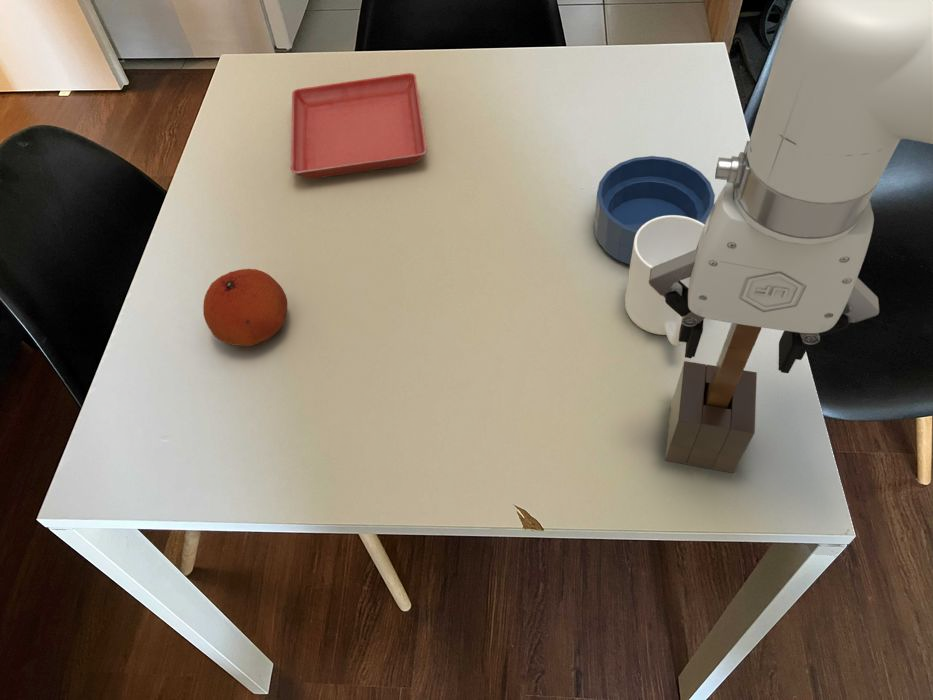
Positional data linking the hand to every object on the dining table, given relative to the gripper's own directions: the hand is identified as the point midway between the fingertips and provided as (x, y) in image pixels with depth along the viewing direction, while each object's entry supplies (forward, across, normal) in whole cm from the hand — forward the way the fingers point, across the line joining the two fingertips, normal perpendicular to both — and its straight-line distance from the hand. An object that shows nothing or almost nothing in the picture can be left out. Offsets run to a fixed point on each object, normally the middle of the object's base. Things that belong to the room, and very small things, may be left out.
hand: (736, 350), depth 58 cm
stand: (+15, 0, 0) cm, 15 cm away
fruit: (+15, -50, +4) cm, 52 cm away
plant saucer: (+15, -49, +38) cm, 64 cm away
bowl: (+15, -8, +27) cm, 32 cm away
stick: (+15, 0, 0) cm, 15 cm away
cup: (+15, -5, +14) cm, 21 cm away
